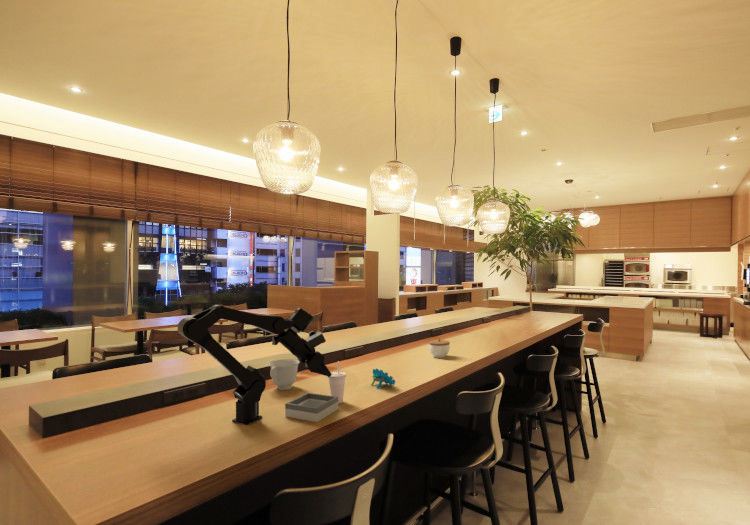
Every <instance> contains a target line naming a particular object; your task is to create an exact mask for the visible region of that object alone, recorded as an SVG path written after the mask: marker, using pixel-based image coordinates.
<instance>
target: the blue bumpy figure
mask: <svg viewBox="0 0 750 525" xmlns="http://www.w3.org/2000/svg"><path fill="white" fill-rule="evenodd" d="M371 377H372V378H373V379H372V380H373V381H372V382H371V384H370V386H372V387H373V386H374V384H375V382H378V384H377V386H376V388H377V389H378V388H379V389H380V388H381V385H382V383H384V384H387V385H389V386H395V384H396V380H395V379H394V377H393V376H392V375H390V376H389V372H386V371H385V372H384V371H383V370H382V369H378V368H373V369H372V376H371Z"/></svg>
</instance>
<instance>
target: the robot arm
mask: <svg viewBox="0 0 750 525" xmlns="http://www.w3.org/2000/svg"><path fill="white" fill-rule="evenodd" d="M220 320H225V321H231V322H235V323H238V324H239V323H240V324H244V325H249V326H253V327H255V328H257V329H259V330H262V331H264V332H266V333H270V334H273V335H274V334H275V335H276V336H272V337H271V342H272V343H271V345H273V346H277V345H278V344H279V343H280V344H281V345H282V346H283V347H284V348H286V350H288V351H289V352H290V353H291V354H292V355H293V356H295V358H296V359H297V360H299V361H300V363H302V364H304V367H305V368H306V369H307V370H309V371H310V373H316V374H318V375H322V376H325V377H327V378H328V377H330V376H331V375H332V374H331V371H330V370H329V368H328V367H327V365H326V364H325V360H326V357H325V356H324V354H323V353H321V352H320V351H316V347H318V346H321V345H322V344H325V343H326V342H327V340H326V338H325V336H324V335H323V333H322V332H321V331H316V332H315V331H314V330H311V331H309V332H308V337H307V338H306V339H305V338H303V337H301V336H300V335H299V334H298V333H304V332H305V331H306V330H307V329H308V327H309V325H310V324H311V323H312V322H313V320H314V317H313V316H312V314H311V313H309V312H307V311H306V310H304V309H303V308H302V307H297V308H296V309H295V311H294V312H293V314H292V315H291V316H290V317H289V318H284V317H283V316H279V315H275V314H257V313H252V312H248V311H243V310H238V309H235V308H230V307H226V306H224V305H221V304H214V305H212V306H211V307H209V308H207V309H205V310H203V311H201V312H198V313H196V314H195V315H193V316H187V317H183V319H180V321H179V322H178V324H177V332H178V333H179V335H180V336H181V337H183V338H186V339H187V340H188V341H190V342H192V343H194V344H196V345H197V346H199V347H201V348H202V350H204V351H205V352H207V354H208V355H210V356H211V357H212V358H213V359H215V361H217V363H219V364H220V366H222V367H223V368H224V369H225V370H227V372H228V373H230V374H231V375H232V376H233V377H234V379H235V381H236V383H237V384H238V385H237V386H236V388H235V389H234V390H233V392H232V395H233V396H234V399H237V401H235V418H233V419H232V420H231V422H233V423H236V424H241V425H250V424H252V423H255V422H257V421H258V420H260V419H263V415H259V414H260V404H259V403H260V401H261V398H262V395H263V393H264V392H265V389H266V387H267V385H266V383H267V381H266V379H265V375H263V374H261V373H260V372H259V370H258V369H257V368H256V367H253V366H251V365H249V364H248V365H247V367H245V366H244V365H243V364H242V363H241V362H240V361H239V360H238V359H237V358H236V357H234V356H233V355H232V353H230V352H229V351H228V350H227V349H225V347H223V346H222V345H221V344H220V343H219V342H218V340H216V339H215V338H214V337H213V336H212V334H211V331H210V330H209V328H211V327H213V326H214V325H215V324H216V323H217V322H218V321H220Z"/></svg>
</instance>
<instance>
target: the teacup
mask: <svg viewBox="0 0 750 525" xmlns="http://www.w3.org/2000/svg"><path fill="white" fill-rule="evenodd" d="M300 363H301V361H300V360H299V359H297V358H296V359H294V358H283V359H276V360H272V361H270V362H269V363H268V366H269V367H270V372H269V374H270V378H271V379H272V382H273V385H275V386H277V388H276V389H277V390H280V391H288V390H290V388H291V389H292V388H293V384H295V382H296V380H297V377H298V368H299V364H300Z"/></svg>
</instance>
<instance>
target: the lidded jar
mask: <svg viewBox="0 0 750 525" xmlns="http://www.w3.org/2000/svg"><path fill="white" fill-rule="evenodd" d="M450 344H451V342H450V341H449V340H446V339H444V340H443V339H441V338H437V339H432V340H430V341H428V347H429V352H430V354H431V355H432V356H433V357H434V358H437V359H441V358H446V357H447V355H448V354H449V353H450Z"/></svg>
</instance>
